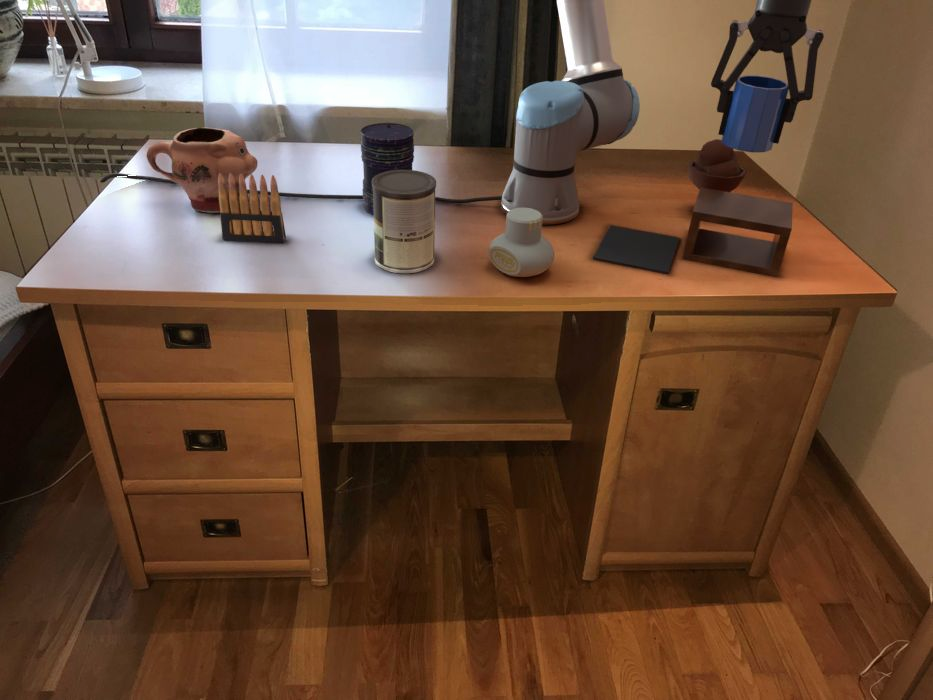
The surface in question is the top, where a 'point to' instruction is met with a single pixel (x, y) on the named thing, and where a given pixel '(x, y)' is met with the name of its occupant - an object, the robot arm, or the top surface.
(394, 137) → the storage jar
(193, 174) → the decorative planter
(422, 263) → the coffee can
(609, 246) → the mat
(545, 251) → the air freshener
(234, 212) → the ammunition clip
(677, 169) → the top surface
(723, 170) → the ice cream bowl
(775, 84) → the cup
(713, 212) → the shelf
